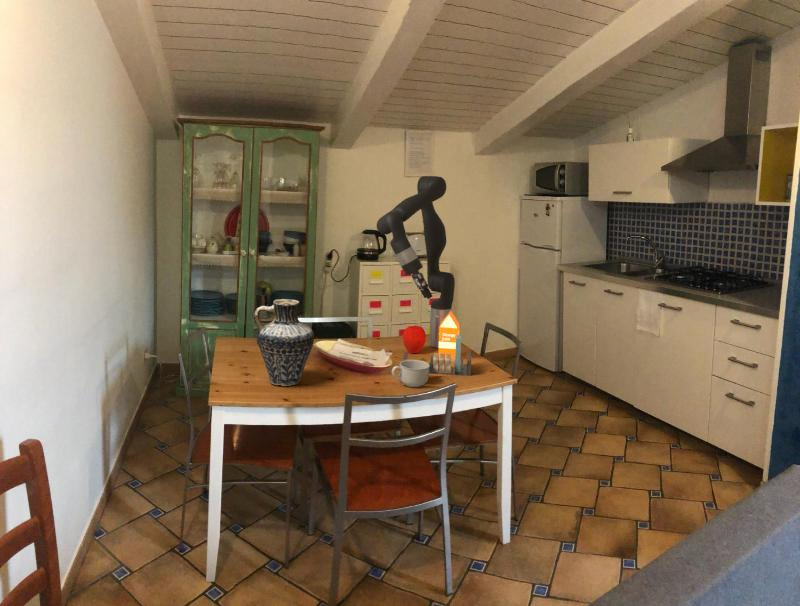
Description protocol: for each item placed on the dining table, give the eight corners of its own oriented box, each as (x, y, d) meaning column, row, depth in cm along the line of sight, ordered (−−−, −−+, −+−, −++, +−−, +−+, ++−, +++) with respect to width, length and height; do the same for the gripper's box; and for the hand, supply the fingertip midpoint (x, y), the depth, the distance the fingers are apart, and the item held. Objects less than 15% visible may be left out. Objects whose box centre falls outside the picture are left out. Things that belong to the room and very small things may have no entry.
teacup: (424, 380, 247) (425, 359, 246) (432, 389, 237) (433, 367, 236) (387, 381, 244) (388, 360, 243) (393, 390, 234) (394, 368, 233)
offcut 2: (438, 372, 254) (439, 359, 253) (439, 365, 263) (440, 353, 262) (444, 372, 253) (444, 360, 252) (444, 365, 263) (445, 353, 262)
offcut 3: (444, 372, 253) (445, 360, 253) (445, 365, 263) (446, 353, 262) (450, 373, 253) (450, 360, 252) (450, 365, 263) (451, 353, 262)
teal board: (454, 371, 255) (456, 338, 253) (454, 367, 261) (456, 335, 259) (459, 372, 255) (461, 339, 253) (459, 367, 261) (461, 335, 258)
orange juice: (458, 357, 279) (460, 310, 276) (456, 363, 271) (459, 315, 267) (439, 356, 280) (441, 309, 277) (437, 362, 272) (439, 313, 268)
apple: (417, 357, 278) (418, 328, 276) (397, 353, 284) (398, 325, 281) (429, 352, 286) (430, 324, 284) (410, 348, 292) (411, 321, 290)
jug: (303, 372, 252) (303, 294, 246) (321, 387, 235) (322, 303, 229) (248, 379, 242) (247, 297, 237) (263, 395, 226) (262, 307, 220)
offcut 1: (432, 372, 254) (433, 359, 253) (433, 365, 264) (434, 352, 263) (438, 372, 254) (438, 359, 253) (438, 365, 263) (439, 353, 263)
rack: (401, 374, 253) (401, 356, 252) (404, 364, 267) (404, 347, 265) (470, 378, 251) (471, 360, 250) (469, 367, 265) (470, 350, 263)
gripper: (419, 255, 253) (439, 293, 255) (415, 256, 267) (434, 292, 269) (402, 265, 253) (422, 302, 254) (398, 265, 267) (417, 301, 268)
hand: (428, 297), depth 262 cm, fingers open, 8 cm apart
